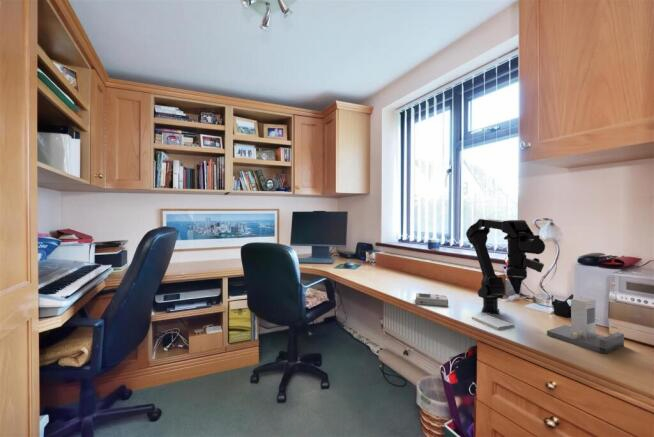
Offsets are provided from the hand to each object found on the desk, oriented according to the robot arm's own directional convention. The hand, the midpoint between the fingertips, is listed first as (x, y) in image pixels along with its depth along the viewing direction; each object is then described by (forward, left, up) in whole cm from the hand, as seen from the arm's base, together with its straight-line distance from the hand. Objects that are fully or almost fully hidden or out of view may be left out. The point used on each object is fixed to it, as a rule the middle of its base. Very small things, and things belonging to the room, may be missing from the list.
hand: (517, 291), depth 111 cm
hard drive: (+4, -8, -14) cm, 17 cm away
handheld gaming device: (-11, -36, -14) cm, 40 cm away
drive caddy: (+5, +19, -12) cm, 23 cm away
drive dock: (+5, +19, -13) cm, 23 cm away
